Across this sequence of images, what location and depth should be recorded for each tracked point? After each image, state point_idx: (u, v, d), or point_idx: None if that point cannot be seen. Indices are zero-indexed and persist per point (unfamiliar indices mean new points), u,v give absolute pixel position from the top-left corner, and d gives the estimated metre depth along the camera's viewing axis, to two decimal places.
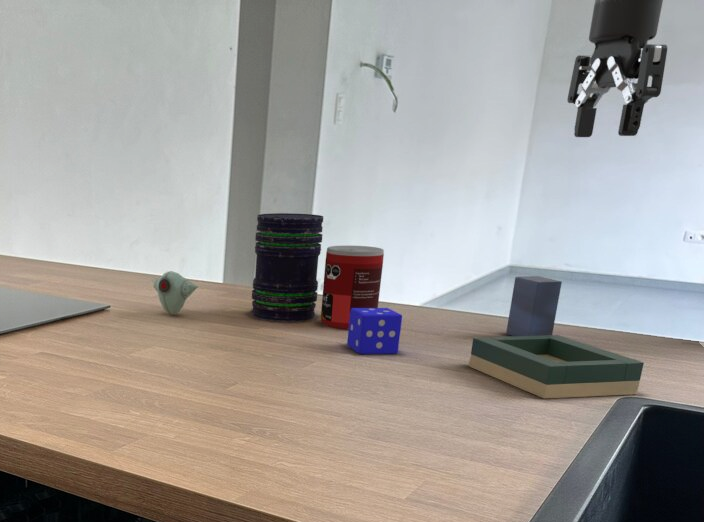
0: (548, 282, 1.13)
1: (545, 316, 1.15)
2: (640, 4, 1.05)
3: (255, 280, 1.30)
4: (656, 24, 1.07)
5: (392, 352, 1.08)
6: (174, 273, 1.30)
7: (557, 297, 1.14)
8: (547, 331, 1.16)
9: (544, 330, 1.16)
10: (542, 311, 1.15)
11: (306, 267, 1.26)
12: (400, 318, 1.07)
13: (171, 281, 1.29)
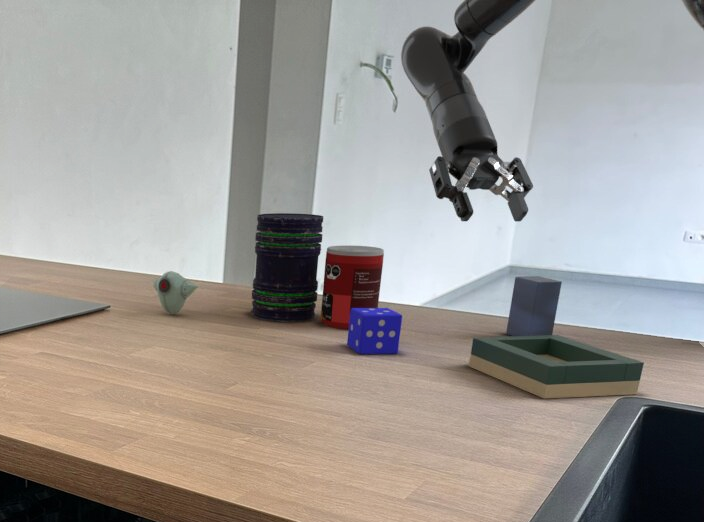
0: (548, 282, 1.13)
1: (545, 316, 1.15)
2: (439, 143, 1.31)
3: (255, 280, 1.30)
4: (457, 138, 1.27)
5: (392, 352, 1.08)
6: (174, 273, 1.30)
7: (557, 297, 1.14)
8: (547, 331, 1.16)
9: (544, 330, 1.16)
10: (542, 311, 1.15)
11: (306, 267, 1.26)
12: (400, 318, 1.07)
13: (171, 281, 1.29)
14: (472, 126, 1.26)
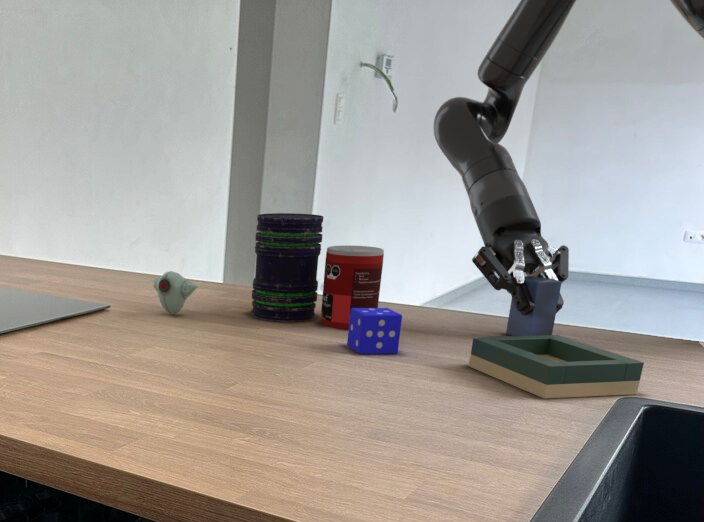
0: (548, 282, 1.13)
1: (545, 316, 1.15)
2: (478, 221, 1.22)
3: (255, 280, 1.30)
4: (497, 218, 1.19)
5: (392, 352, 1.08)
6: (174, 273, 1.30)
7: (557, 297, 1.14)
8: (547, 331, 1.16)
9: (544, 330, 1.16)
10: (542, 311, 1.15)
11: (306, 267, 1.26)
12: (400, 318, 1.07)
13: (171, 281, 1.29)
14: (514, 206, 1.18)
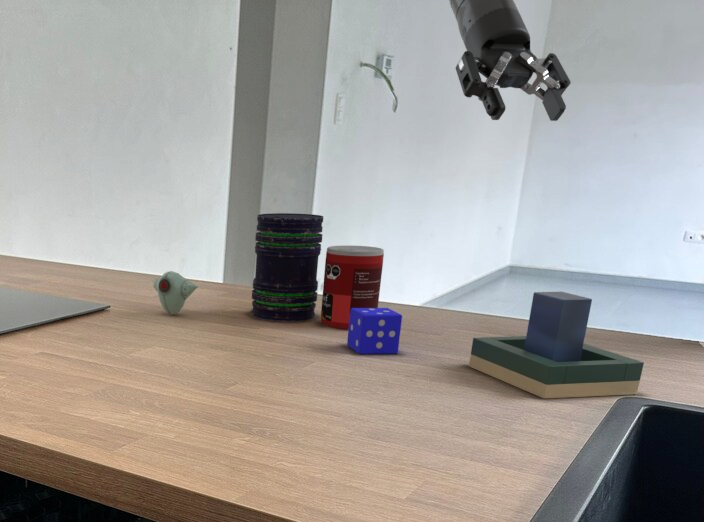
0: (575, 300, 0.92)
1: (571, 341, 0.93)
2: (466, 40, 1.20)
3: (255, 280, 1.30)
4: (486, 32, 1.16)
5: (392, 352, 1.08)
6: (174, 273, 1.30)
7: (586, 319, 0.93)
8: (573, 360, 0.94)
9: (570, 359, 0.94)
10: (568, 335, 0.93)
11: (306, 267, 1.26)
12: (400, 318, 1.07)
13: (171, 281, 1.29)
14: (502, 18, 1.15)
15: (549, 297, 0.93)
